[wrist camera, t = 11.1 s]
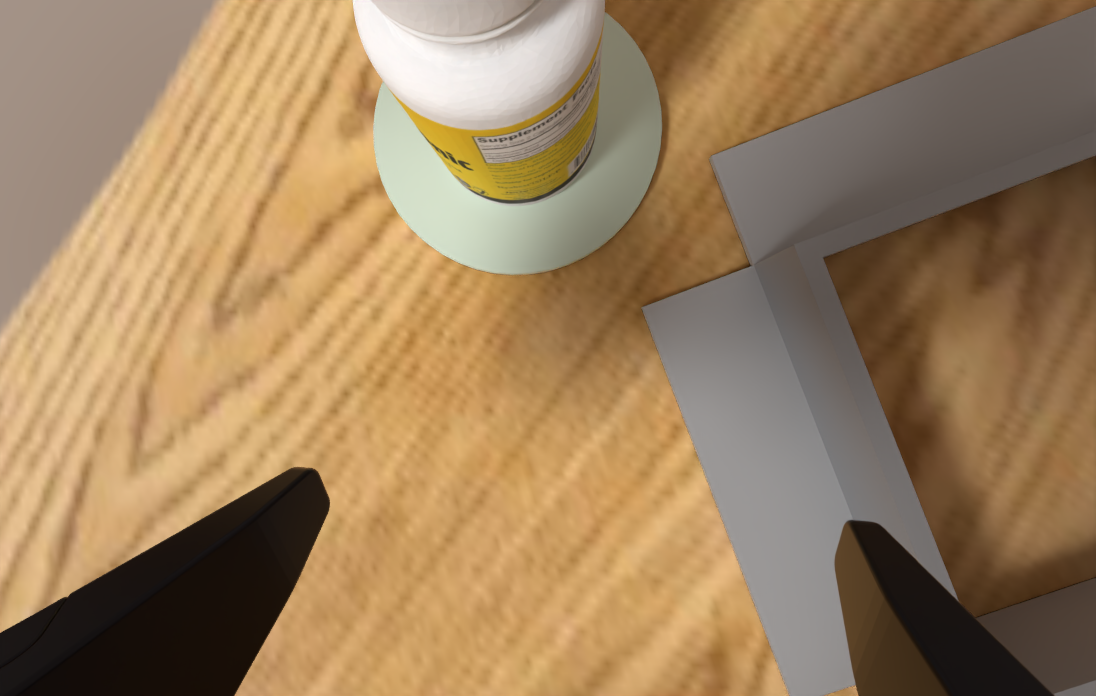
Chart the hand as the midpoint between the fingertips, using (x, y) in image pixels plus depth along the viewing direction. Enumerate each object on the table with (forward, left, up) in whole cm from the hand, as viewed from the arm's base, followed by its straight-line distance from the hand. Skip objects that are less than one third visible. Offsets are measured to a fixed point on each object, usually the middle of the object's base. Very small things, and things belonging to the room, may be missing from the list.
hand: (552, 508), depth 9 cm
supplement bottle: (+2, +10, -9) cm, 14 cm away
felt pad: (+2, +10, -9) cm, 14 cm away
